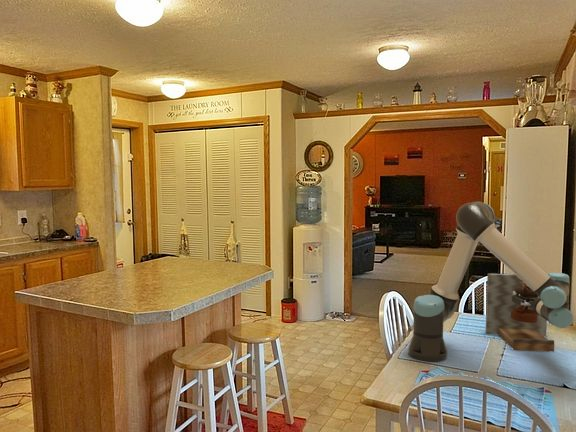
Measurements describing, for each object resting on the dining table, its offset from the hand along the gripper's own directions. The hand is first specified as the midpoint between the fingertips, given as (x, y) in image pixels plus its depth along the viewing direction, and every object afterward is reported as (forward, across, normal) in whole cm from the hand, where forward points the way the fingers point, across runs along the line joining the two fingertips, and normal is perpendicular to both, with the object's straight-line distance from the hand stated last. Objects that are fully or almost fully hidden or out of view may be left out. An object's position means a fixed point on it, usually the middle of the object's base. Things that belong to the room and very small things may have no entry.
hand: (523, 294), depth 208 cm
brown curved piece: (-3, 0, -11) cm, 11 cm away
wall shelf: (-4, 0, -20) cm, 21 cm away
